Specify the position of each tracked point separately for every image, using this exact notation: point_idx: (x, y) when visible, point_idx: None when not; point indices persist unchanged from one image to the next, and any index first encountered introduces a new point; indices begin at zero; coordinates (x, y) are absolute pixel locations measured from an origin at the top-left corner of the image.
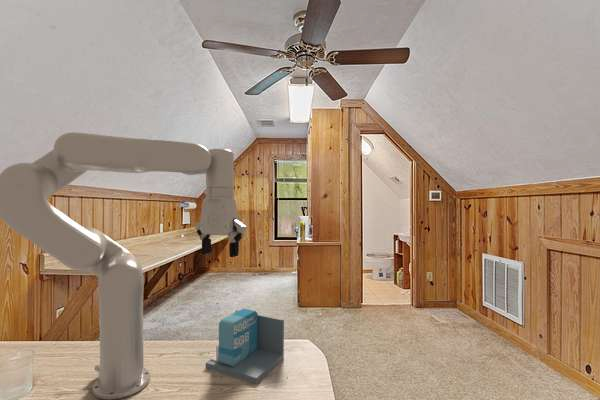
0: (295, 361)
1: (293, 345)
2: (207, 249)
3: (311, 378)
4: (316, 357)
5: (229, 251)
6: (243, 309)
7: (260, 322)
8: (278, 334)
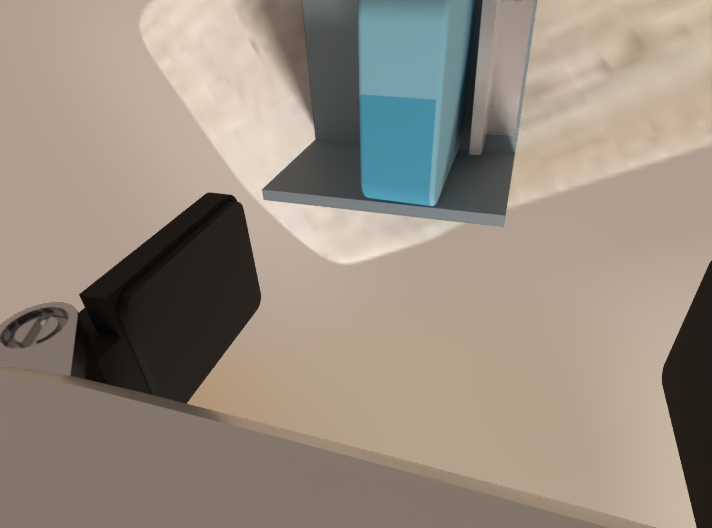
0: (286, 142)
1: (343, 228)
2: (700, 356)
3: (201, 74)
4: (252, 185)
5: (204, 232)
6: (421, 183)
7: None
8: (303, 166)
